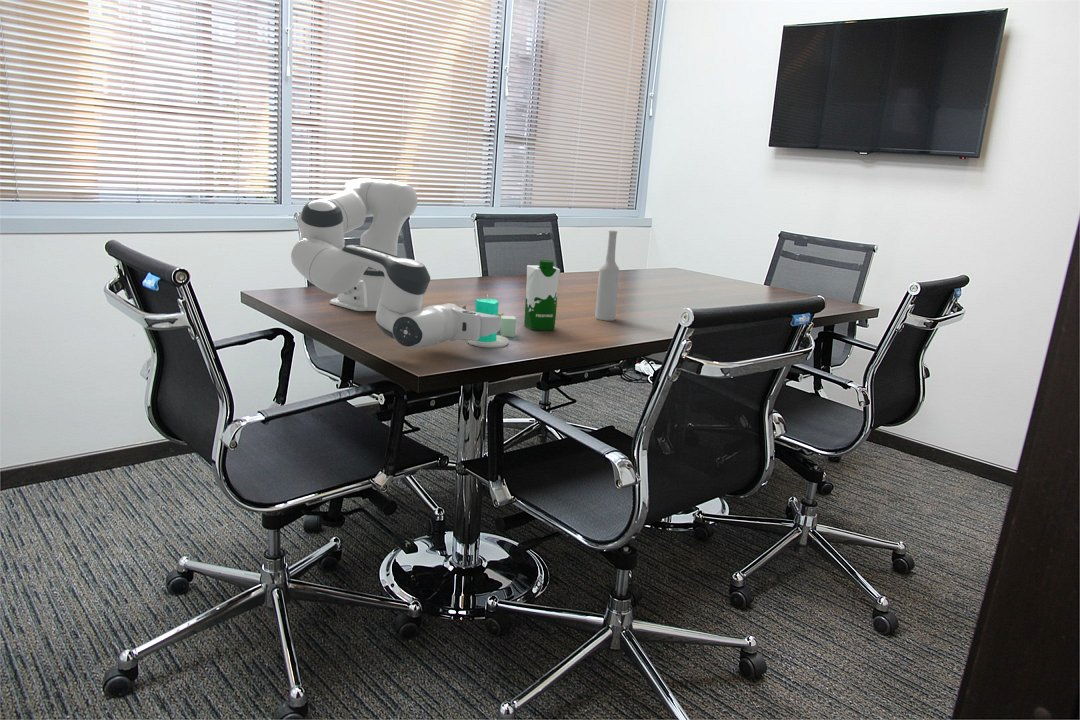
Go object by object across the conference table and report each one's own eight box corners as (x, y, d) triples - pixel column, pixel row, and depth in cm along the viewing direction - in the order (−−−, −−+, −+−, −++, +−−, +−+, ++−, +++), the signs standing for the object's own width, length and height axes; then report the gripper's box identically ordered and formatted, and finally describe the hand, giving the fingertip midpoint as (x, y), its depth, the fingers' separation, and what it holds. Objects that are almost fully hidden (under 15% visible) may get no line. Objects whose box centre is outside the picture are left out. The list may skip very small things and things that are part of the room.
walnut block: (443, 322, 223) (444, 306, 222) (449, 319, 228) (450, 303, 227) (459, 324, 222) (460, 307, 221) (465, 321, 227) (466, 305, 226)
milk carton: (530, 331, 220) (535, 262, 215) (520, 324, 228) (524, 257, 223) (558, 330, 223) (563, 262, 218) (547, 323, 231) (552, 258, 226)
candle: (475, 341, 198) (477, 296, 195) (472, 336, 204) (475, 292, 201) (497, 342, 200) (500, 297, 197) (495, 337, 205) (497, 293, 202)
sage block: (500, 336, 211) (501, 318, 210) (499, 332, 215) (500, 315, 214) (515, 336, 212) (516, 319, 211) (513, 333, 216) (514, 316, 215)
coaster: (458, 342, 201) (458, 338, 200) (481, 335, 210) (481, 332, 210) (494, 349, 196) (494, 346, 195) (515, 342, 205) (515, 338, 205)
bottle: (614, 321, 242) (622, 232, 235) (593, 319, 243) (601, 230, 236) (616, 317, 248) (624, 231, 241) (596, 315, 249) (603, 229, 242)
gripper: (412, 327, 189) (444, 320, 201) (481, 342, 180) (511, 333, 192) (413, 302, 188) (445, 296, 200) (482, 315, 178) (512, 308, 190)
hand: (478, 314), depth 196 cm, fingers open, 8 cm apart
